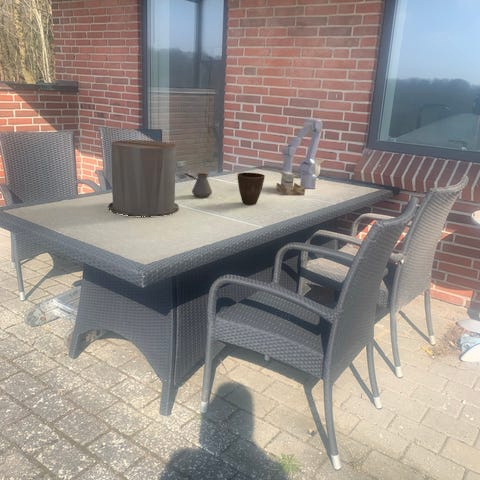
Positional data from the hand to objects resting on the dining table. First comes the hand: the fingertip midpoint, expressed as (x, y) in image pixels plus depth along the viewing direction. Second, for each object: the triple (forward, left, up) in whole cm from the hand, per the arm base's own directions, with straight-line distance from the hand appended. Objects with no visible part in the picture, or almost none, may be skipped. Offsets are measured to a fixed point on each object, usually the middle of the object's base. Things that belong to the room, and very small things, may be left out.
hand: (285, 187), depth 320 cm
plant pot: (+35, +38, -2) cm, 52 cm away
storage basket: (+93, +47, -2) cm, 104 cm away
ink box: (+2, +6, -2) cm, 7 cm away
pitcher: (-34, -41, -2) cm, 53 cm away
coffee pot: (+62, +23, -2) cm, 66 cm away
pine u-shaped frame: (0, +8, -2) cm, 8 cm away
